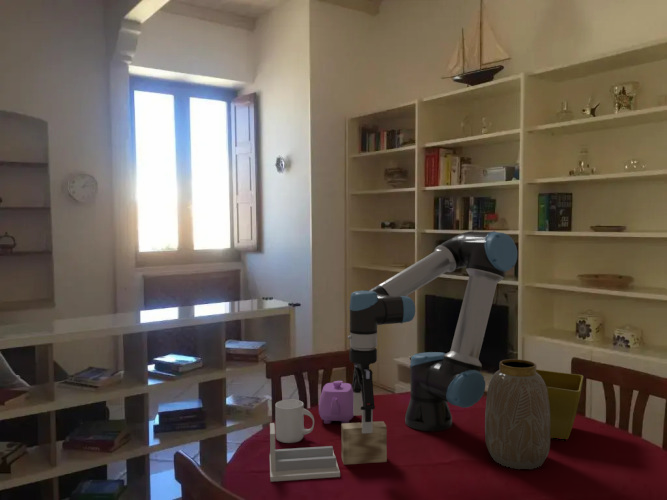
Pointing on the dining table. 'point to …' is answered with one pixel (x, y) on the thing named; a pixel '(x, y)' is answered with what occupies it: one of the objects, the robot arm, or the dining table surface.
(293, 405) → the mug
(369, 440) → the door panel
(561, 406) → the flower pot
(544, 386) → the vase
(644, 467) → the dining table surface
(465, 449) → the dining table surface
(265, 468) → the dining table surface
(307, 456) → the white stand
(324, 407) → the teapot
